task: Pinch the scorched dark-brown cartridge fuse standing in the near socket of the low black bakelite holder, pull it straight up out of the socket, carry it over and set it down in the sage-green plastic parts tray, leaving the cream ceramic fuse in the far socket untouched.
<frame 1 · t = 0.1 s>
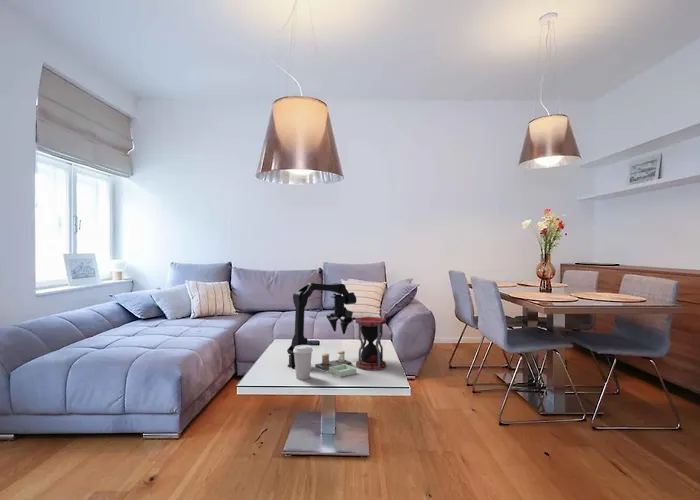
hand: (339, 332, 236), 15 cm above the table, fingers open, 9 cm apart
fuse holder: (333, 365, 220), on the table
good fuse: (341, 364, 223), resting in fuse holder
hourglass: (370, 366, 220), on the table
blown fuse: (325, 367, 218), resting in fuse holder
parts tray: (342, 372, 208), on the table
coffee cup: (302, 378, 201), on the table
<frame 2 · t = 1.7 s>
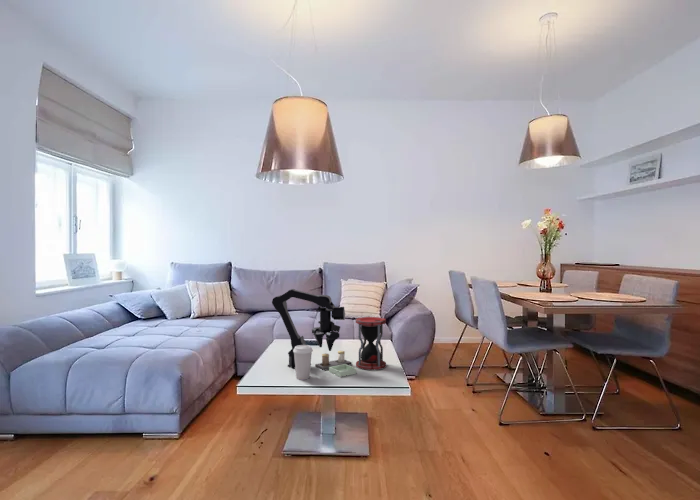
hand: (325, 349, 218), 10 cm above the table, fingers open, 9 cm apart
nothing on the table moved.
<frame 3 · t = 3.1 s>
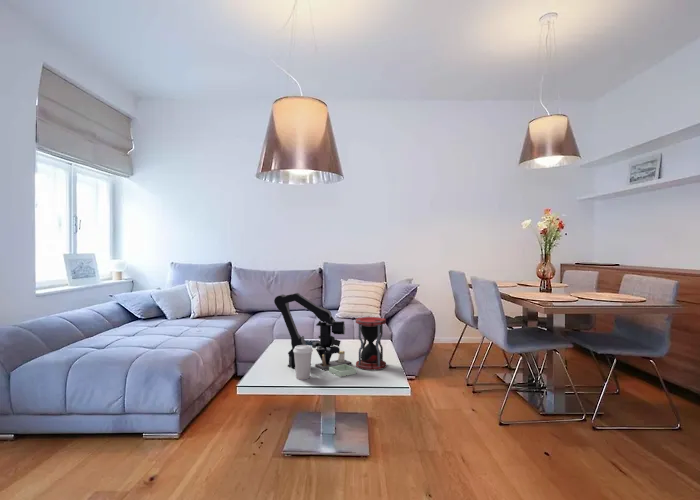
hand: (325, 363, 218), 2 cm above the table, fingers closed on blown fuse, 4 cm apart
blown fuse: (325, 367, 218), resting in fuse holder, touching gripper
everything else where it was.
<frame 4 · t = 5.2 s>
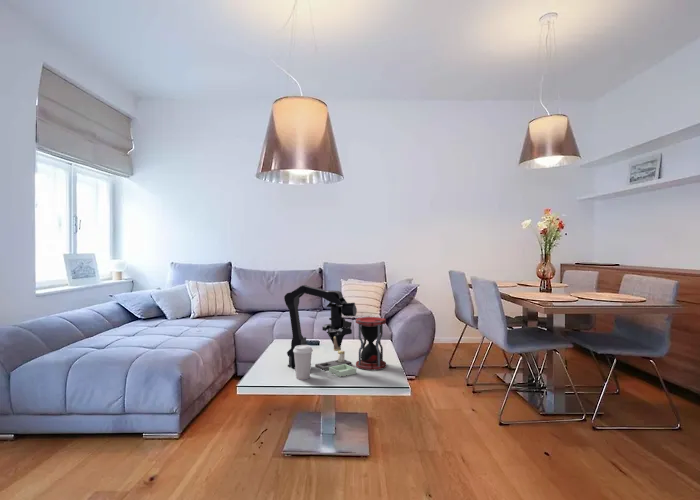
hand: (337, 346, 212), 13 cm above the table, fingers closed on blown fuse, 4 cm apart
blown fuse: (337, 350, 212), point 11 cm above the table, touching gripper
everything else where it was.
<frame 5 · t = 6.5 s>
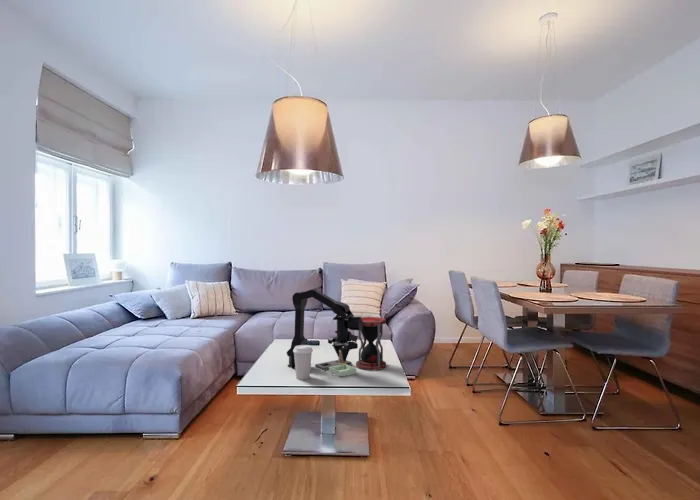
hand: (342, 359, 208), 6 cm above the table, fingers closed on blown fuse, 4 cm apart
blown fuse: (342, 363, 208), point 4 cm above the table, touching gripper
everything else where it was.
when the fingers open (3 cm above the table, at t = 7.3 s): blown fuse stays where it is, resting on parts tray.
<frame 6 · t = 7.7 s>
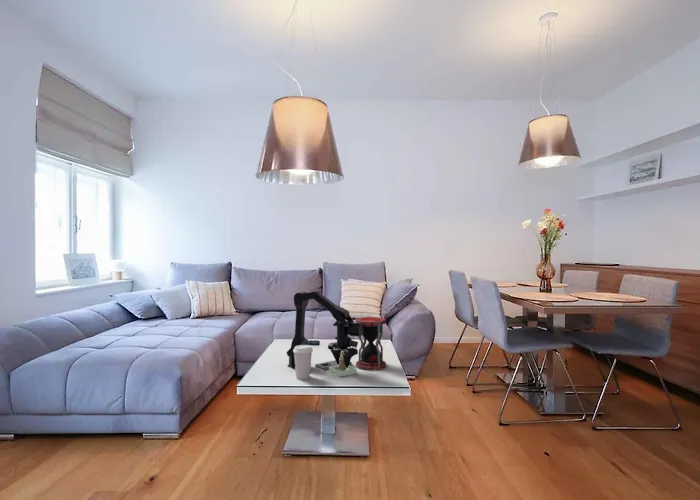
hand: (342, 365, 208), 3 cm above the table, fingers open, 7 cm apart
blown fuse: (342, 371, 208), point 1 cm above the table, touching parts tray
everything else where it was.
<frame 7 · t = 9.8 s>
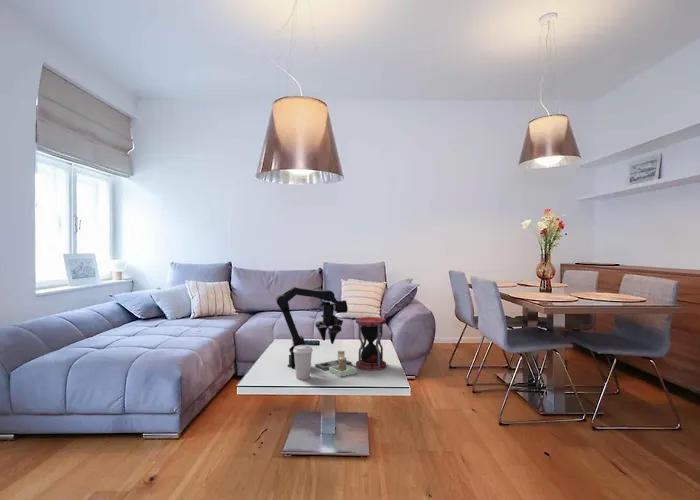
hand: (328, 342, 224), 12 cm above the table, fingers open, 9 cm apart
nothing on the table moved.
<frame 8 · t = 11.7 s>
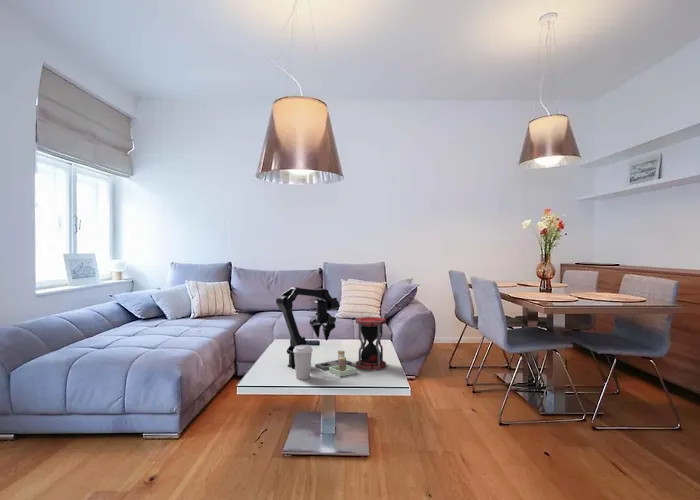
hand: (322, 338, 232), 12 cm above the table, fingers open, 9 cm apart
nothing on the table moved.
at the end: blown fuse inside the target area on the parts tray (0.1 cm from its centre), point 0.5 cm above the parts tray's base; the gripper is holding nothing; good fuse moved 0.0 cm from its start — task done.
